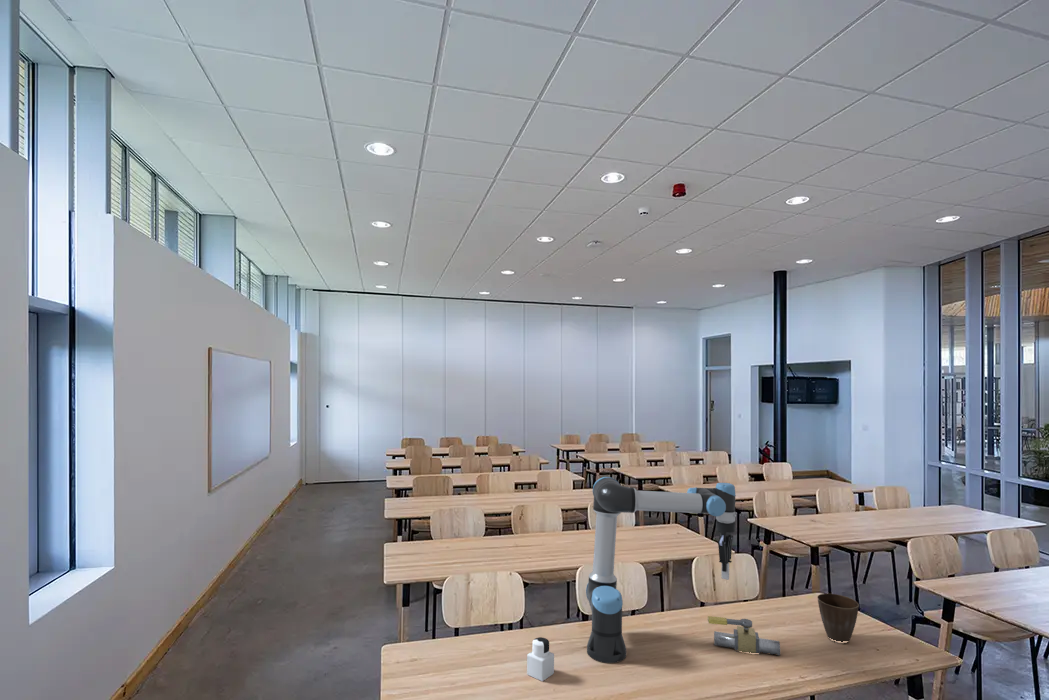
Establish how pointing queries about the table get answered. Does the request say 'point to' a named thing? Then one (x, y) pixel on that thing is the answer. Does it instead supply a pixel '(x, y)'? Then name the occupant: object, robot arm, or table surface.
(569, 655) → the table surface
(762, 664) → the table surface
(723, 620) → the lever
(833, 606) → the plant pot
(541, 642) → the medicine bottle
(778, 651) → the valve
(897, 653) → the table surface
